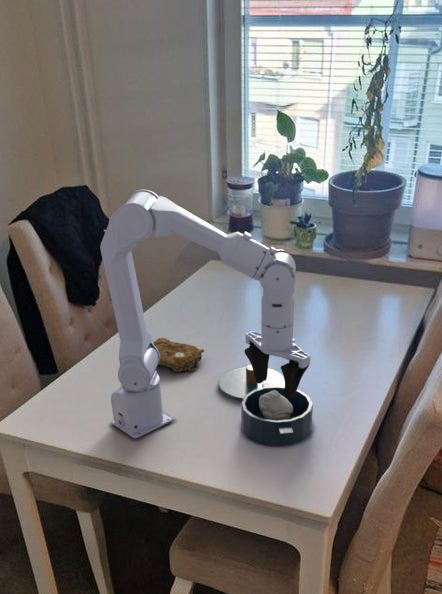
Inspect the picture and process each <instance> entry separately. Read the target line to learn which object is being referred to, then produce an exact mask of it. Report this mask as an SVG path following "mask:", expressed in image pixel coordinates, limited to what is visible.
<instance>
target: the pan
mask: <svg viewBox="0 0 442 594" xmlns="http://www.w3.org/2000/svg"><path fill="white" fill-rule="evenodd" d="M273 390H275V391H278V393H279V394H281V395H282V396H284V397H285V398H286V399H287V400H288V401H289V402H290V403H291V404H292V406H293V413H292V414H291V415H290V419H288V420H277V421H276V420H268V419H265V417H264V416H263V412H261V410H260V407H259V398H260V396H261V395H264V394H265V393H268V392H271V391H273ZM240 405H241V407H240V409H241V410H240V411H241V412H240V413H241V414H240V415H241V428H242V432H243V434H244V436H245V437H246V438H247V439H249V440H250V441H251V442H253V443H256V444H258V445H261V446H266V447H272V448H273V447H276V448H278V447H281V448H282V447H288V446H289V447H290V446H293V445H296V444H299V443H301V442H303V441H305V440H306V439H307V438H308V437H309V435H310V434H311V432H312V431H311V430H312V426H313V409H314V408H313V407H314V403H313V402H312V399H311V396H309V395H308V394H306V393H305V392H303V391H302V390H300V389H297V391H296V395H294V396H292V397H290V398H287V397H286V396H285V387H283V386H275V385H274V383H263V384H262V388H259V389H256V390H253V391H251V392H250V393H248V394H247V395H246V396H244V399H243V400H241V403H240Z"/></svg>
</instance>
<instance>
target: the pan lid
mask: <svg viewBox="0 0 442 594" xmlns="http://www.w3.org/2000/svg"><path fill="white" fill-rule="evenodd" d="M263 383H274V385H275V386H283V387H285V381H284V376H283V374H282V373H280V372H279V371H277V370H275V369H272V368H269V367H268V375H267V380H266V381H264V382H262V383H260V384H259V383H257V381H256V378H255V374H254V371H253V368H252V365H251V364H248V365H246V366H242V367H237V368H233V369H230V370H228V371H227V372H225V373H224V374H222V375H221V376H220V378H219V380H218V388H219V390H220V391H221V392H222V393H223V394H224V395H225V396H227V397H230V398H232V399H235V400H239V401H243V399H244V396H246V395H247V394H248V393H250V392H251V391H253V390H256V389H259V388H262V384H263Z"/></svg>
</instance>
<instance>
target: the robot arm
mask: <svg viewBox="0 0 442 594" xmlns="http://www.w3.org/2000/svg"><path fill="white" fill-rule="evenodd" d="M153 232H154V238H155V239H158V238H162V237H165V236H170V235H178V236H180V237H182V238H184V239H187V240H188V241H191V242H193V243H195V244H197V245H200V246H202V247H203V248H204V247H205V248H206V249H209V250H211V251H213V252H215V253H217V254H218V255H219V258H220V261H221V263H222V264H223V265H225V266H227V267H229V268H231V269H233V270H235V271H236V272H239V273H241V274H243V275H245V276H247V277H248V278H251V279H253V280H255V281H258V282H260V286H261V288H262V296H261V309H260V310H261V313H260V314H261V316H260V317H261V319H260V323H261V324H260V326H261V327H260V332H258V331H254V330H251V331H250V332H247V333H245V334H244V335H245V344H247V345H249V346H248V347H246V348H244V354H245V356H246V358H247V359H248V361H249V363H250V365H252V368H253V371H254V374H255V378H256V381H257V383H259V384H260V383H262V382H264V381H266V380H267V375H268V368H269V362H270V356H272V357H273V356H274V357H278V358H283V359H285V360H287V361H288V362H287V363H285V364H282V365H280V370H281V372H282V373H281V374H282V376H283V377H284V381H285V396H286V397H287V398H290V397H292V396H294V395H296V391H297V390H298V388H299V385H300V382H301V380H302V378H303V376H304V375H305V373H306V371H307V369H308V368H309V367H310V365H311V354H309V353H306V352H305V351H303V349H301V348H300V347H299V346H298V345H297V344H296V339H295V338H294V319H295V317H294V316H295V296H294V294H295V285H296V280H297V279H296V270H297V266H296V265H297V264H296V261H295V259H294V258H293V256H292V255H291V254H290V253H288V252H287V250H285V249H282V248H281V249H280V248H279V249H277V248H276V247H273V246H271V247H268V246H265V245H264V244H262V243H260V242H258V241H256V240H254V239H253V238H252V234H251V233H249V232H247V231H244V233H241V232H240V231H234V232H231V233H225V232H223V231H222V230H220V229H219V228H217V227H215V226H213V225H212V224H210V223H208V222H206V221H205V220H203V219H201V218H199V217H198V216H196V215H194V214H193V213H191V212H190V211H188V210H186V209H184V208H183V207H181V206H179V205H178V204H176V203H175V202H174V201H172V200H170V199H169V198H167V197H165V196H163V195H157V193H155V192H154V191H151V190H149V189H138V190H136V191H134V192H133V193H131V195H130V196H129V197H128V198H126V200H125V201H124V202H122V204H121V205H120V207H119V208H117V210H116V211H115V212H114V213H113V214H112V215H111V216H110V217H109V220H108V225H107V227H106V230H105V232H104V235H103V238H102V240H101V242H100V246H99V247H100V253H101V258H102V263H103V267H104V272H105V278H106V281H107V285H108V291H109V293H110V294H109V295H110V299H111V304H112V307H113V313H114V317H115V322H116V327H117V332H118V336H119V340H120V341H119V350H118V360H119V368H118V369H117V379H118V382H119V383H120V386H119V388H118V389H117V390H115V391H113V392H112V393H111V396H110V404H111V411H112V418H113V420H112V421H111V424H112V425H113V426H115V427H116V428H117V429H119V430H120V431H122V432H124V433H125V434H127V435H128V436H130V437H131V438H132V439H138V438H141V437H142V436H144V435H146V434H148V433H151V432H152V431H155V430H158V429H159V428H161V427H163V426H165V425H167V424H169V423H171V422H172V421H173V418H172V417H171V416H169V415H167V414H166V413H164V412H163V401H162V400H163V399H162V390H161V378H160V376H159V374H158V371H157V367H158V366H159V365H160V364H159V362H160V353H159V351H158V349H157V348H156V346H155V345H154V343H153V342H154V341H153V337H152V335H151V334H150V333H149V332H148V330H147V324H146V319H145V314H144V309H143V305H142V299H141V293H140V289H139V284H138V277H137V272H136V268H135V261H134V258H133V252H132V250H133V249H134V247H135V246H136V245H139V244H141V243H142V242H143V241H145V240H147V239H148V238H149V237H150V235H151V234H152V233H153Z"/></svg>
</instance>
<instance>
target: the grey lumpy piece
mask: <svg viewBox="0 0 442 594" xmlns="http://www.w3.org/2000/svg"><path fill="white" fill-rule="evenodd" d="M259 407H260V410H261V412H263V416H264V417H265V419H268V420H276V421H277V420H288V419H290V415H291V414H292V413H293V406H292V404H291V403H290V402H289V401H288V400H287V399H286V398H285V397H284V396H282V395H281V394H279V393H278V391H275V390H273V391H271V392H268V393H265V394H264V395H261V396H260V398H259Z"/></svg>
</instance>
